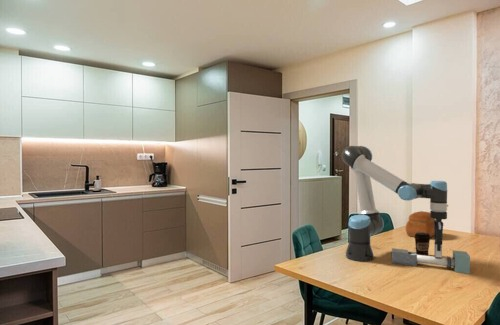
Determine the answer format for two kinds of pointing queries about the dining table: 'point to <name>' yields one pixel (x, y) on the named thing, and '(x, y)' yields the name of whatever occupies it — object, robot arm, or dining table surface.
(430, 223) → the bread
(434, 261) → the tube
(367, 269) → the dining table surface
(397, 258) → the sleeve
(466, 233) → the dining table surface
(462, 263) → the socket
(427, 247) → the coffee cup
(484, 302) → the dining table surface
